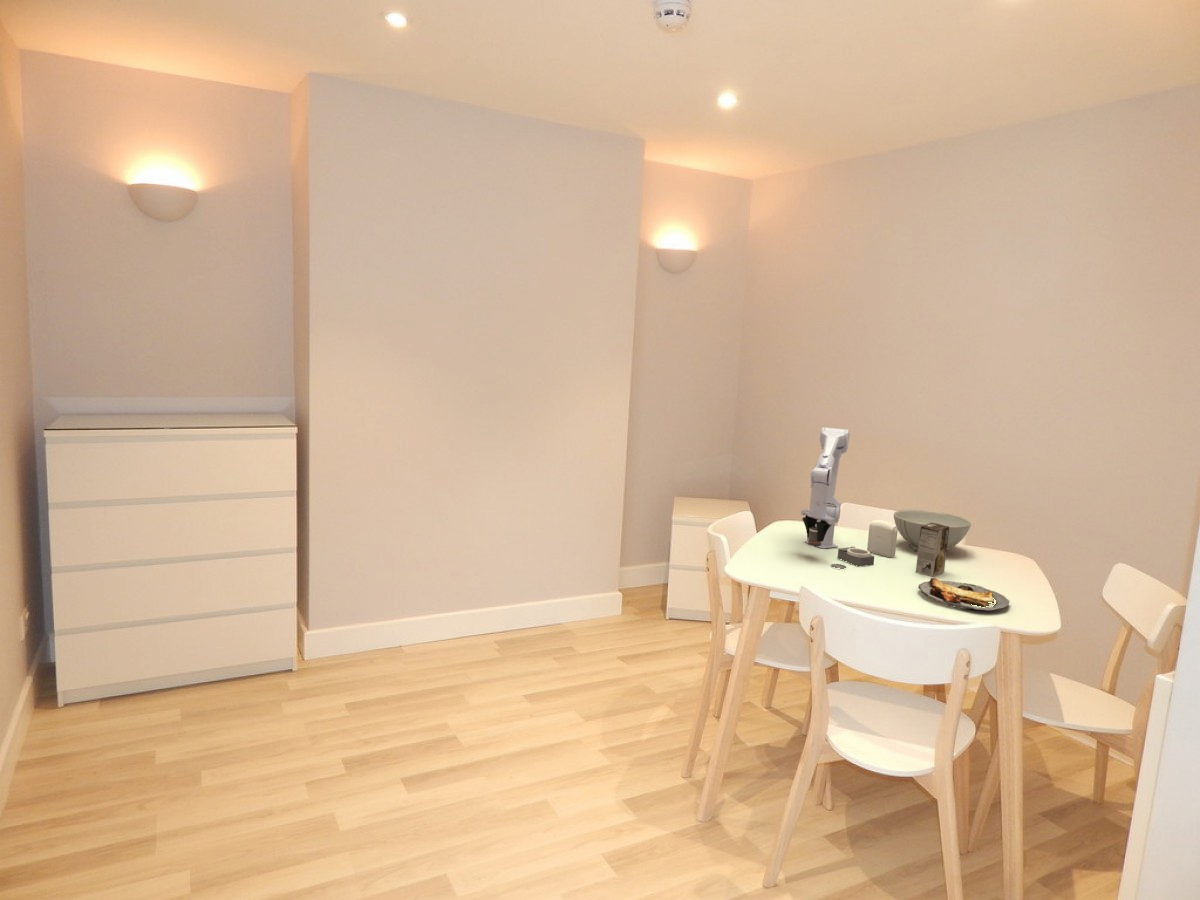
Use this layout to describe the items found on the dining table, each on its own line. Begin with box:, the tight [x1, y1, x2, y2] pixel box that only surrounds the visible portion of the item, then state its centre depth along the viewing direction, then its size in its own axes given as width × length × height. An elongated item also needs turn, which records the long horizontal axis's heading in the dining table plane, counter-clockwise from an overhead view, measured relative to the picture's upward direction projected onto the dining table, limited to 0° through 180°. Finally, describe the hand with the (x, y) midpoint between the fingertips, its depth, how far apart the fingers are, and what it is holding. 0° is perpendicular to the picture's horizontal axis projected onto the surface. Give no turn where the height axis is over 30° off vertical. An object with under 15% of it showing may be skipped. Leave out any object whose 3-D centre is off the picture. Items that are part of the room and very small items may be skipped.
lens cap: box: [830, 563, 847, 570], centre depth 262 cm, size 5×5×1 cm
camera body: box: [836, 545, 875, 567], centre depth 270 cm, size 10×8×4 cm
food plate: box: [917, 577, 1010, 611], centre depth 235 cm, size 25×23×4 cm
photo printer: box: [866, 519, 899, 558], centre depth 280 cm, size 10×4×12 cm, turn 39°
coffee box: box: [915, 523, 949, 578], centre depth 261 cm, size 9×6×16 cm
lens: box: [807, 526, 822, 547], centre depth 271 cm, size 4×4×6 cm
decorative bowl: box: [893, 509, 972, 551], centre depth 291 cm, size 27×27×12 cm
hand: (815, 539), depth 272 cm, fingers closed on lens, 4 cm apart
